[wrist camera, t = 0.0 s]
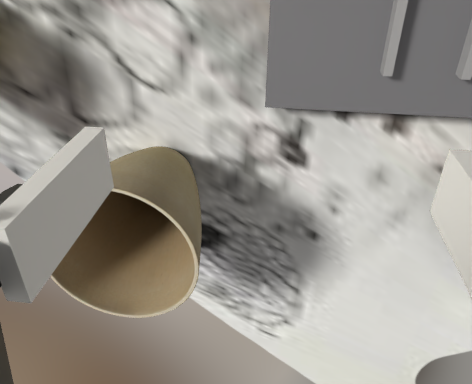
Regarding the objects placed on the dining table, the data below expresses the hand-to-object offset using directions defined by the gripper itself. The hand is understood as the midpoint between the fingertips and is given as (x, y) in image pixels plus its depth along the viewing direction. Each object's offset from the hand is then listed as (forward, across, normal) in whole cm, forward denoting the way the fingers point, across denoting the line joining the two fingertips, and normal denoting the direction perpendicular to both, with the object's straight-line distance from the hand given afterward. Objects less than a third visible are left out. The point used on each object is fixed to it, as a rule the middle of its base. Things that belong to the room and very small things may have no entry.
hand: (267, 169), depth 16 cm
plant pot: (+28, -13, -17) cm, 35 cm away
